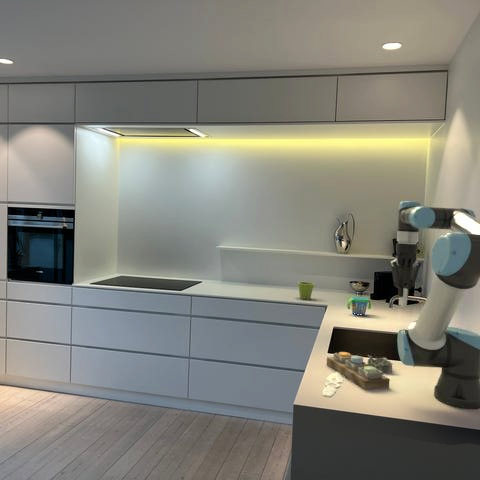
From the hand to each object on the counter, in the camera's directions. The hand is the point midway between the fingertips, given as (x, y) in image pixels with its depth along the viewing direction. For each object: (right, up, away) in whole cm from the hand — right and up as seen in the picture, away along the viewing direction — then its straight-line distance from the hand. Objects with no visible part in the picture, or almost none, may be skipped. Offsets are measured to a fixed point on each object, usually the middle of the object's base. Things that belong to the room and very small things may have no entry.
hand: (402, 305), depth 174 cm
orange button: (-21, -22, +6) cm, 31 cm away
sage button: (-15, -23, -10) cm, 29 cm away
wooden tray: (-18, -26, -2) cm, 31 cm away
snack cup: (+11, -21, +108) cm, 111 cm away
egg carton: (-6, -26, +8) cm, 28 cm away
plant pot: (-15, -17, +152) cm, 153 cm away
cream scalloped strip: (-28, -26, -11) cm, 40 cm away
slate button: (-18, -21, -2) cm, 28 cm away
